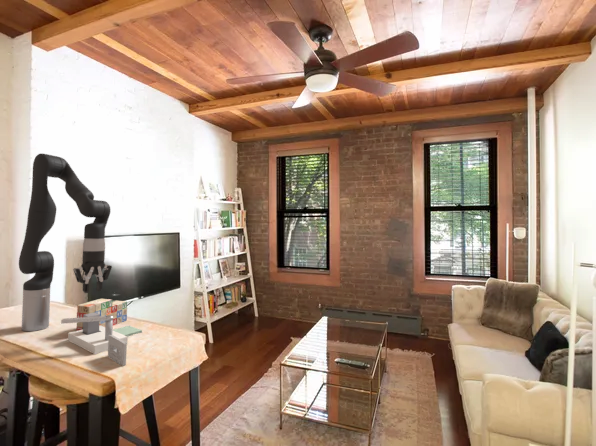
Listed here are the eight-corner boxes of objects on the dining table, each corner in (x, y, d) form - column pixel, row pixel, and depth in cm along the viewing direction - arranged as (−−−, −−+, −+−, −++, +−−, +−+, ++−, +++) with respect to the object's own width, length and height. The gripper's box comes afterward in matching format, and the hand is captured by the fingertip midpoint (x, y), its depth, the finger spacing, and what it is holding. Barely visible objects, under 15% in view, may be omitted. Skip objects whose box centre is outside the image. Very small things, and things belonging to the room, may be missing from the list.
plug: (82, 339, 129) (83, 314, 129) (93, 336, 132) (94, 312, 132) (87, 341, 126) (88, 316, 126) (98, 338, 130) (99, 314, 130)
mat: (106, 333, 136) (106, 331, 136) (129, 327, 145) (129, 325, 145) (118, 338, 131) (118, 336, 131) (142, 332, 139) (142, 330, 139)
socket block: (68, 340, 127) (69, 314, 127) (100, 332, 137) (100, 308, 137) (94, 354, 116) (95, 325, 116) (127, 344, 126) (128, 318, 126)
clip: (113, 318, 124) (113, 315, 124) (112, 320, 121) (112, 317, 121) (63, 321, 118) (63, 318, 118) (60, 323, 115) (61, 320, 115)
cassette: (127, 365, 109) (128, 342, 109) (121, 366, 107) (122, 344, 107) (111, 355, 116) (112, 333, 116) (106, 356, 114) (107, 335, 114)
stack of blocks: (116, 319, 156) (117, 294, 156) (127, 320, 154) (128, 295, 154) (75, 333, 135) (77, 304, 135) (87, 335, 133) (89, 306, 133)
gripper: (107, 247, 137) (105, 287, 137) (69, 249, 125) (68, 293, 125) (116, 249, 133) (115, 290, 133) (78, 251, 121) (77, 296, 121)
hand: (92, 291), depth 129 cm, fingers open, 4 cm apart
